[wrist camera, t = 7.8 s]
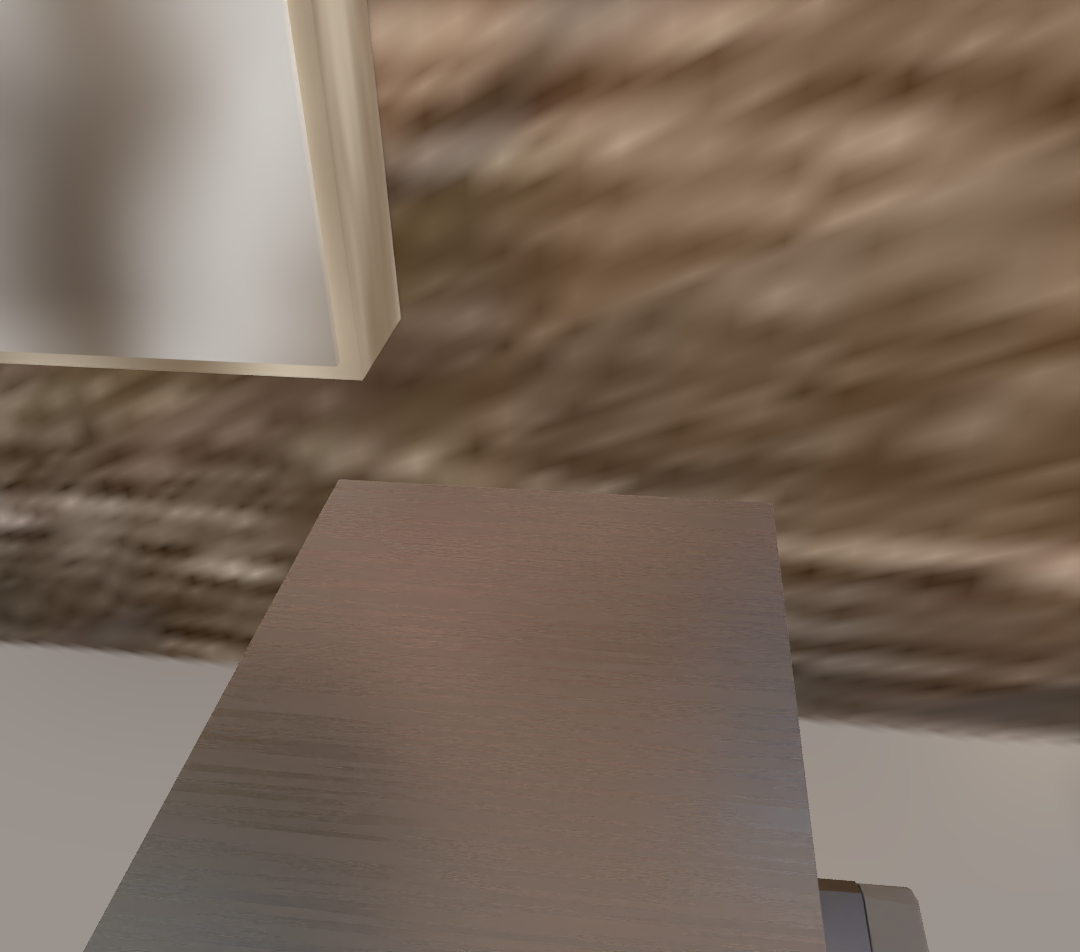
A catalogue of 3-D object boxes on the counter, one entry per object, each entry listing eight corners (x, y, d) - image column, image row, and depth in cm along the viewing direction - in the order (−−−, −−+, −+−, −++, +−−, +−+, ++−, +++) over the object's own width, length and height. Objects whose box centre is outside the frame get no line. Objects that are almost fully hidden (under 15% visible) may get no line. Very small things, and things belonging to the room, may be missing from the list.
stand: (35, 304, 28) (-52, 365, 25) (-128, -194, 22) (-276, -199, 19) (400, 318, 27) (358, 386, 24) (343, -208, 20) (275, -216, 17)
